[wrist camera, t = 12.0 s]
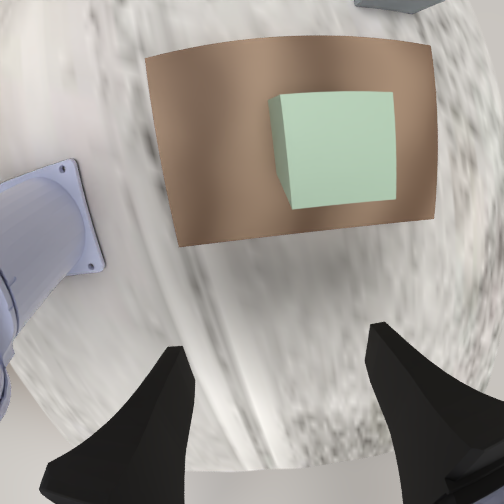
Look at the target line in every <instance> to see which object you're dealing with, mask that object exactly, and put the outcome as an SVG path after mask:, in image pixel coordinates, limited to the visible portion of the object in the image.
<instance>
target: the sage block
mask: <svg viewBox="0 0 504 504" xmlns="http://www.w3.org/2000/svg"><path fill="white" fill-rule="evenodd" d="M268 106H269V114H270V122H271V130H272V138H273V147H274V155H275V164H276V173H277V176H278V178H279V180H280V183H281V185H282V187H283V189H284V192H285V194H286V196H287V198H288V201H289V203H290V205H291V208H292V209H301V208H310V207H319V206H329V205H339V204H349V203H359V202H370V201H381V200H393V199H396V133H395V115H394V101H393V92H373V91H337V92H310V93H294V94H281V95H278V96H276V97H273V98H271V99H269V100H268Z"/></svg>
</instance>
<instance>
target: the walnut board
mask: <svg viewBox="0 0 504 504" xmlns="http://www.w3.org/2000/svg"><path fill="white" fill-rule="evenodd" d="M145 63H146V71H147V79H148V86H149V93H150V100H151V106H152V113H153V119H154V125H155V131H156V137H157V143H158V148H159V154H160V159H161V165H162V170H163V175H164V180H165V185H166V190H167V195H168V200H169V205H170V209H171V214H172V218H173V223H174V227H175V232H176V236H177V240H178V245H179V247H186V246H194V245H202V244H210V243H218V242H226V241H235V240H243V239H252V238H260V237H269V236H278V235H286V234H295V233H304V232H313V231H322V230H331V229H340V228H350V227H359V226H369V225H378V224H388V223H398V222H408V221H418V220H428V219H434V213H435V201H436V186H437V161H438V128H437V103H436V89H435V77H434V68H433V59H432V52H431V46H430V45H424V44H418V43H412V42H405V41H397V40H389V39H379V38H368V37H353V36H283V37H268V38H256V39H246V40H238V41H230V42H223V43H216V44H210V45H204V46H198V47H193V48H188V49H183V50H178V51H173V52H169V53H165V54H160V55H156V56H152V57H149V58H145ZM337 91H373V92H393V101H394V115H395V133H396V199H393V200H381V201H370V202H359V203H349V204H339V205H329V206H319V207H310V208H301V209H292V208H291V205H290V203H289V201H288V198H287V196H286V194H285V192H284V189H283V187H282V185H281V183H280V180H279V178H278V176H277V173H276V164H275V155H274V147H273V138H272V130H271V122H270V114H269V106H268V100H269V99H271V98H273V97H276V96H278V95H281V94H294V93H310V92H337Z"/></svg>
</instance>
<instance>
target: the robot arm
mask: <svg viewBox="0 0 504 504" xmlns="http://www.w3.org/2000/svg"><path fill="white" fill-rule="evenodd" d="M62 166H65V172H64V171H63V169H62ZM90 264H93V265H94V267H92V266H91V265H90ZM104 268H105V262H104V259H103V256H102V253H101V250H100V247H99V244H98V241H97V238H96V235H95V231H94V228H93V225H92V221H91V218H90V214H89V211H88V207H87V203H86V200H85V196H84V192H83V188H82V184H81V180H80V176H79V171H78V167H77V163H76V161H75V160H74V159H67V160H64V161H61V162H58V163H55V164H52V165H49V166H46V167H43V168H40V169H37V170H35V171H32V172H29V173H26V174H24V175H21V176H18V177H16V178H13V179H11V180H8V181H6V182H3V183H1V184H0V421H1V420H2V418H3V417H4V415H5V413H6V411H7V408H8V405H9V402H10V397H11V383H10V378H9V375H8V372H7V370H6V366H7V365H8V363H9V362H10V360H11V359H12V357H13V356H14V354H15V353H14V350H13V341H14V339H15V337H16V336H17V335H18V333H19V332H20V331H21V329H22V328H23V327H24V326H25V324H26V323H27V322H28V320H29V319H30V318H31V316H32V315H33V314H34V313H35V311H36V310H37V309H38V308H39V306H40V305H41V304H42V303H43V301H44V300H45V299H46V298H47V297H48V295H49V294H50V293H51V292H52V291H53V289H54V288H55V287H56V286H57V285H58V284H59V282H60V281H61V280H62V279H63V278H64V277H65V276H69V275H78V274H87V273H96V272H101V271H102V270H103V269H104ZM365 364H366V368H367V372H368V375H369V379H370V383H371V385H372V388H373V390H374V393H375V395H376V398H377V400H378V402H379V405H380V407H381V410H382V412H383V415H384V417H385V420H386V423H387V425H388V428H389V431H390V434H391V438H392V442H393V446H394V450H395V454H396V459H397V465H398V470H399V476H400V482H401V489H402V498H403V504H504V401H501V400H498V399H496V398H493V397H491V396H488V395H486V394H484V393H481V392H479V391H477V390H475V389H473V388H471V387H469V386H467V385H466V384H464V383H462V382H460V381H459V380H457V379H455V378H454V377H452V376H451V375H449V374H447V373H446V372H444V371H443V370H442V369H440V368H439V367H437V366H436V365H435V364H433V363H432V362H431V361H429V360H428V359H427V358H426V357H424V356H423V355H422V354H421V353H420V352H418V351H417V350H416V349H415V348H414V347H412V346H411V345H410V344H409V343H408V342H407V341H406V340H405V339H403V338H402V337H401V336H400V335H399V334H398V333H397V332H396V331H395V330H393V329H392V328H391V327H390V326H389V325H388V324H387V323H386V322H380V323H375V324H370V330H369V337H368V343H367V350H366V356H365ZM194 398H195V378H194V376H193V373H192V370H191V368H190V365H189V362H188V359H187V357H186V354H185V351H184V348H183V346H173V347H167V348H166V350H165V351H164V353H163V354H162V355H161V357H160V358H159V360H158V361H157V363H156V364H155V366H154V367H153V368H152V370H151V371H150V373H149V374H148V375H147V377H146V378H145V379H144V381H143V382H142V383H141V385H140V386H139V387H138V389H137V390H136V391H135V392H134V394H133V395H132V396H131V397H130V399H129V400H128V401H127V402H126V403H125V404H124V406H123V407H122V408H121V409H120V410H119V411H118V412H117V413H116V414H115V415H114V416H113V417H112V418H111V419H110V420H109V421H108V422H107V423H106V424H105V425H104V426H102V427H101V428H100V429H99V430H98V431H97V432H95V433H94V434H93V435H92V436H91V437H89V438H88V439H87V440H85V441H84V442H83V443H81V444H80V445H78V446H77V447H75V448H74V449H72V450H71V451H69V452H67V453H66V454H64V455H62V456H61V457H58V458H57V459H55V460H53V461H51V462H49V463H48V465H47V467H46V471H45V473H44V476H43V478H42V481H41V484H40V488H39V490H40V492H41V494H42V495H44V496H45V497H46V498H47V499H49V500H51V501H52V502H53V503H55V504H184V475H185V455H186V448H187V442H188V436H189V430H190V425H191V419H192V413H193V407H194Z"/></svg>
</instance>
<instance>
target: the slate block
mask: <svg viewBox="0 0 504 504" xmlns="http://www.w3.org/2000/svg"><path fill="white" fill-rule="evenodd" d="M443 1H445V0H354V4H355V6H359V7H368V8H377V9H384V10H391V11H398V12H403V13H409V14H414V13H416V12H418V11H421V10H423V9H426V8H428V7H430V6H433V5H435V4H438V3H441V2H443Z"/></svg>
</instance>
